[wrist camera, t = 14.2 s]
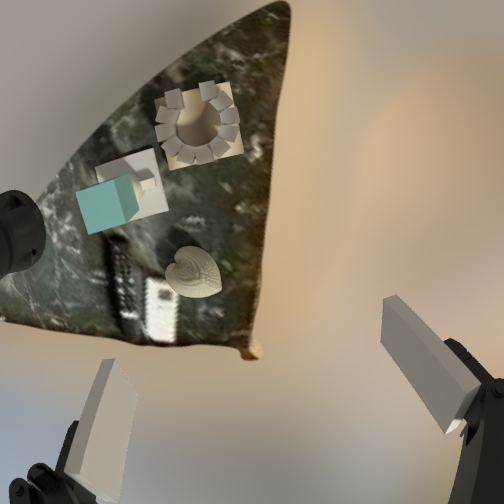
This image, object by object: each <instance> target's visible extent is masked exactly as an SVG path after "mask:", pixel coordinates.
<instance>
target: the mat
mask: <svg viewBox="0 0 504 504" xmlns="http://www.w3.org/2000/svg"><path fill="white" fill-rule="evenodd" d="M95 170H96V173H97V177H98V181H99V183H100V182H103V181H106V180H109V179H111V178H114V177H118V176H121V175H124V174H127V173H133V174H136V175H138V176H139V177H140V178H141V179H142V180H145V179H149V178H152V177H155V178H156V182H157V186H156V187H153V188H150V189H146V190H145V192H144V195H143V197H142V198H141V199H140V200H139V201H138V205H139V209H140V210H139V211H138V212H137V213H136V214H135V215H134V216H133V217H132V218H131V219H130V220H129V221H132V220H135V219H139V218H142V217H146V216H150V215H153V214H157V213H161V212H165V211H169V207H168V204H167V200H166V196H165V192H164V189H163V185H162V181H161V177H160V173H159V169H158V165H157V160H156V156H155V152H154V148H151V149H148V150H145V151H141V152H138V153H135V154H132V155H129V156H126V157H123V158H120V159H117V160H114V161H111V162H108V163H105V164H102V165H100V166H97V167H95Z"/></svg>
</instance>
